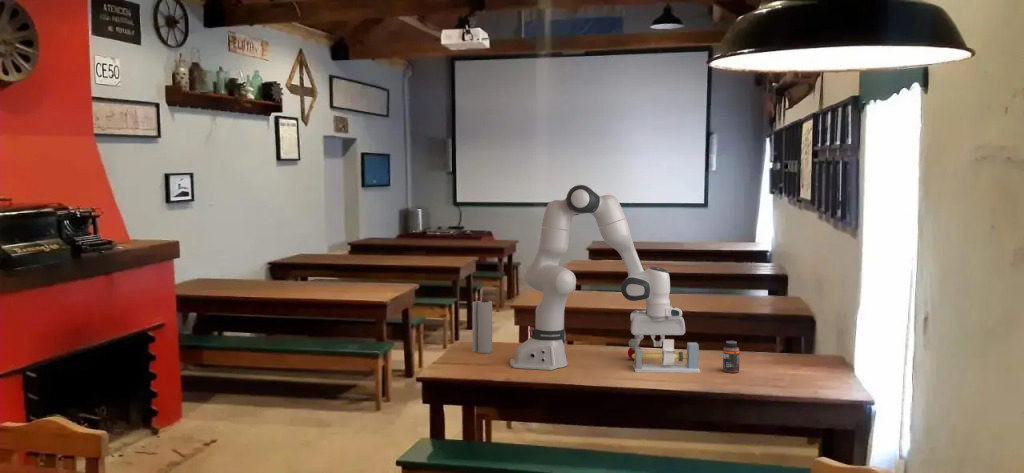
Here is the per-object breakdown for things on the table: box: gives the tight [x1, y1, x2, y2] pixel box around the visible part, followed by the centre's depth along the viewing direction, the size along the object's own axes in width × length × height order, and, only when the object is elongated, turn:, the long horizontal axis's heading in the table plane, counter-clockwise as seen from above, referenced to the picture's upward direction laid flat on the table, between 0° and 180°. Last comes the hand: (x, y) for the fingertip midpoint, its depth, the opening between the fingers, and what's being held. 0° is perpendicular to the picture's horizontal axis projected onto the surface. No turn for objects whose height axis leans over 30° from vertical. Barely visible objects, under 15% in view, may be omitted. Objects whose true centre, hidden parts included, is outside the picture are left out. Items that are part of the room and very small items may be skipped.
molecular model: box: [627, 335, 645, 361], centre depth 314 cm, size 18×6×10 cm, turn 162°
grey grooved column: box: [472, 300, 493, 354], centre depth 327 cm, size 7×6×21 cm
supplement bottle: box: [722, 340, 740, 374], centre depth 296 cm, size 6×6×11 cm
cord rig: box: [632, 341, 701, 374], centre depth 299 cm, size 25×9×10 cm, turn 88°
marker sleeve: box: [661, 338, 676, 365], centre depth 299 cm, size 4×5×9 cm
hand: (657, 346), depth 299 cm, fingers closed
